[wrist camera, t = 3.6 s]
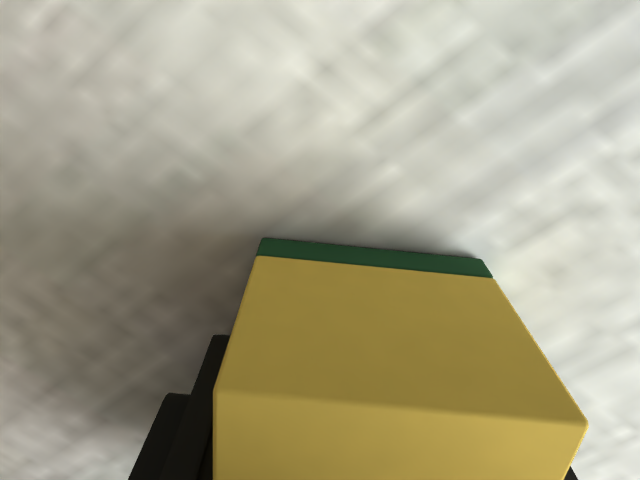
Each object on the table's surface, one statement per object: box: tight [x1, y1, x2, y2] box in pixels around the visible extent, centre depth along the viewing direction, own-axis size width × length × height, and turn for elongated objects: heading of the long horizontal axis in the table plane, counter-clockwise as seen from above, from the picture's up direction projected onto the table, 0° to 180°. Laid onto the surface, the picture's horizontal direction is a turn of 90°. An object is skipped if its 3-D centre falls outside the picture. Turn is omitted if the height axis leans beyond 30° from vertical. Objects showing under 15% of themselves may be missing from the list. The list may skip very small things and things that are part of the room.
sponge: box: [213, 238, 588, 480], centre depth 9 cm, size 7×5×4 cm, turn 174°
